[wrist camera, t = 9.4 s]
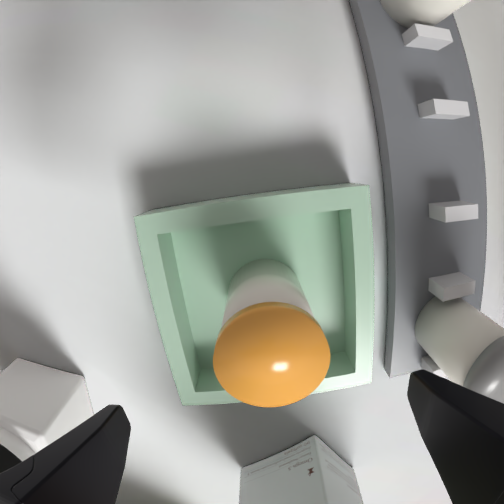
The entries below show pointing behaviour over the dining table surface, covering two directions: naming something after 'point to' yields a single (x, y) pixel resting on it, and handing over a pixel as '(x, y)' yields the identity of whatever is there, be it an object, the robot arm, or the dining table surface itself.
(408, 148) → the block
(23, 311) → the dining table surface
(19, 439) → the medicine bottle
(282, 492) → the supplement box
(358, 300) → the tray
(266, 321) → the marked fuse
